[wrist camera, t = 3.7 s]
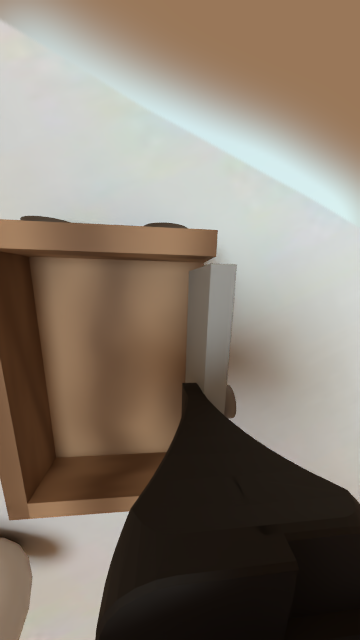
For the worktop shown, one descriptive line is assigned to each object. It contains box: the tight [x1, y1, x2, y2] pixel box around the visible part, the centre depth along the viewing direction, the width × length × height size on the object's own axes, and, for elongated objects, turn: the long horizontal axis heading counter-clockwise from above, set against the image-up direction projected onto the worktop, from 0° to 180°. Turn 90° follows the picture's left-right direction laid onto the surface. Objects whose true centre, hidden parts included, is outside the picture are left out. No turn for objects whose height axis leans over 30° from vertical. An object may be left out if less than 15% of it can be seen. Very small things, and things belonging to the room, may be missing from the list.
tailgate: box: [185, 264, 237, 418], centre depth 11 cm, size 2×14×5 cm, turn 179°
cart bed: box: [0, 216, 218, 520], centre depth 12 cm, size 12×19×5 cm, turn 179°
